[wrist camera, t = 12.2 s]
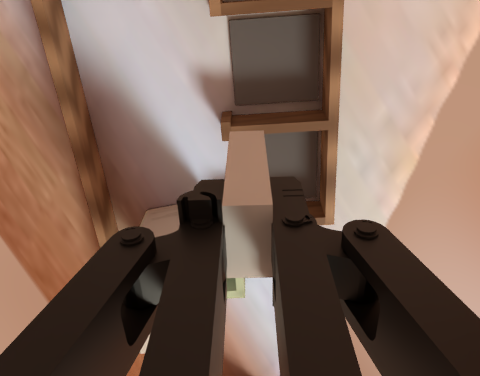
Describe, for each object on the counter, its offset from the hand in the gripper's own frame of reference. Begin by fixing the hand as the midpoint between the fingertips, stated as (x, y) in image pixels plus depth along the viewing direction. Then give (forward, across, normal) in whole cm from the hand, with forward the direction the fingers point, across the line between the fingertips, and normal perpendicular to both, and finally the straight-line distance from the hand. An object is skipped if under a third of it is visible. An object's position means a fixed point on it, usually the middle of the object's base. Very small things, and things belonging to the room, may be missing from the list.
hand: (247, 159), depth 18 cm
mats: (+26, +3, -6) cm, 27 cm away
